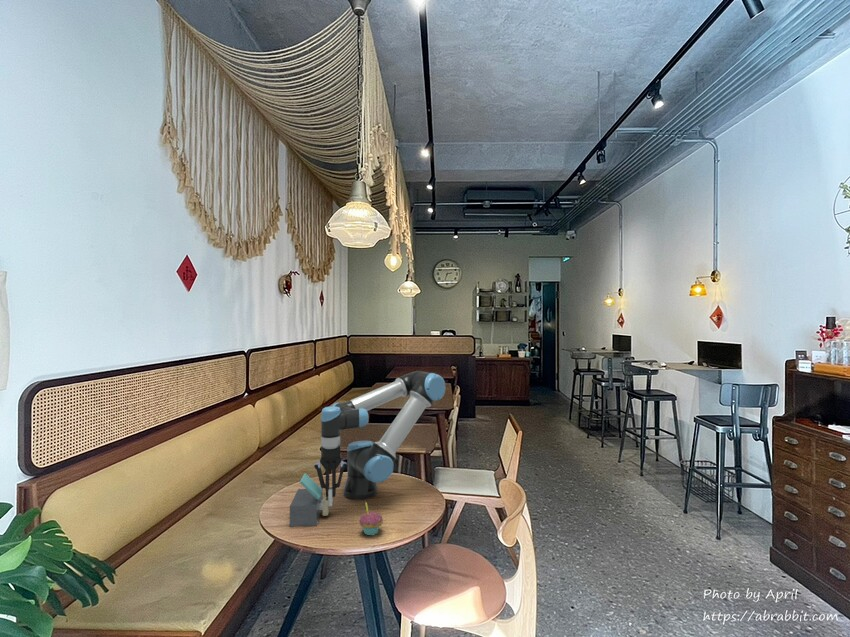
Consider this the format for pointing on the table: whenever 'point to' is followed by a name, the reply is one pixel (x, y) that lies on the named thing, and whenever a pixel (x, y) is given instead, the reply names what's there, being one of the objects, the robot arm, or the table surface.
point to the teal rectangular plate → (311, 486)
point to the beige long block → (324, 505)
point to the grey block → (304, 509)
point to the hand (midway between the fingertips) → (330, 504)
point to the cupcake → (370, 522)
